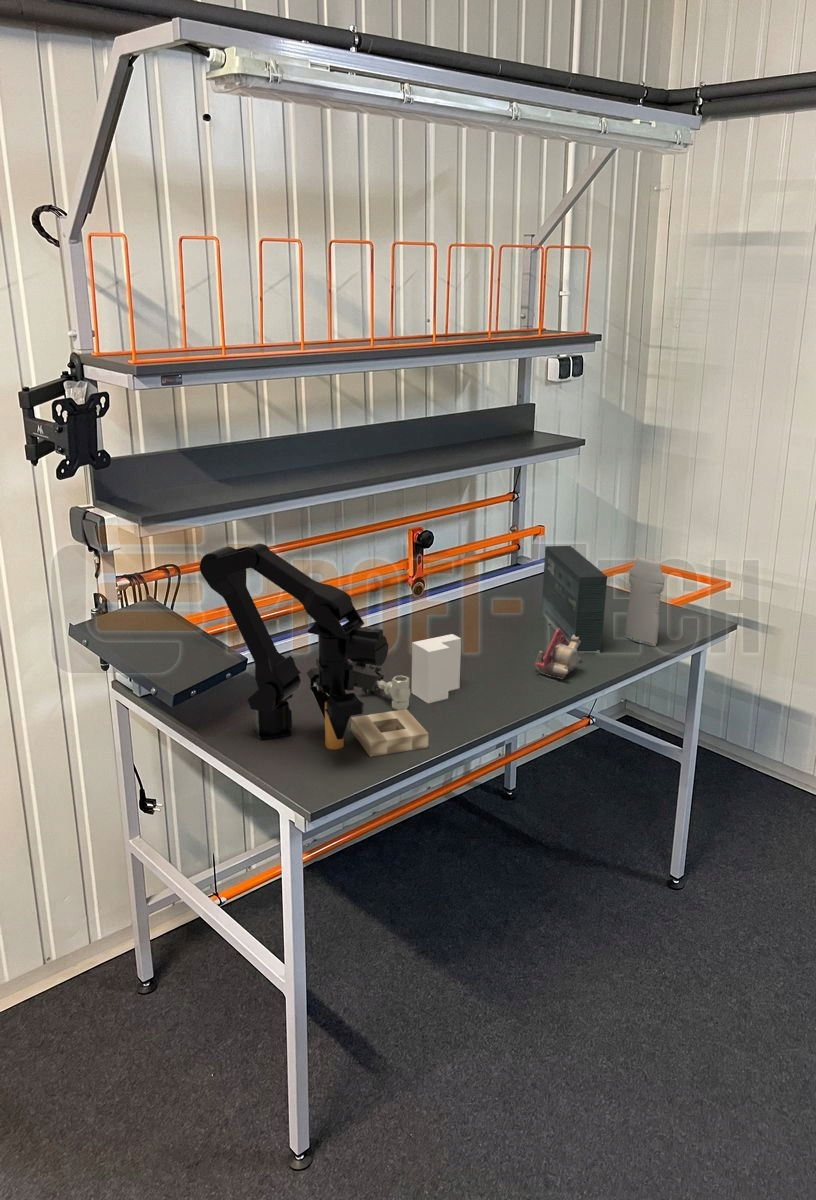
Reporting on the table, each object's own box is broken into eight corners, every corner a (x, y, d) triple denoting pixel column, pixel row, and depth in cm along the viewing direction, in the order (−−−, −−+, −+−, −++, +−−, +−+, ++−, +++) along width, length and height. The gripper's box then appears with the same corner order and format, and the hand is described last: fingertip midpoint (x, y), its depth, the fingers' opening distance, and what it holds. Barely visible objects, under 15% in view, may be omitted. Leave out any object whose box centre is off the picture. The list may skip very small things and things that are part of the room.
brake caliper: (543, 649, 233) (572, 619, 226) (573, 684, 230) (603, 654, 223) (518, 663, 225) (548, 631, 218) (549, 699, 222) (580, 668, 215)
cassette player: (600, 653, 238) (607, 576, 232) (573, 654, 237) (579, 577, 231) (565, 615, 266) (570, 545, 260) (541, 616, 265) (545, 546, 259)
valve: (418, 705, 207) (381, 689, 216) (418, 677, 205) (381, 661, 214) (395, 714, 203) (358, 697, 211) (396, 685, 201) (358, 669, 209)
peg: (328, 750, 186) (327, 708, 184) (323, 742, 190) (322, 700, 187) (346, 747, 188) (345, 705, 185) (340, 740, 191) (340, 698, 188)
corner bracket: (427, 703, 208) (429, 651, 205) (400, 685, 217) (401, 635, 214) (467, 693, 214) (469, 643, 210) (439, 676, 223) (440, 627, 219)
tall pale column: (619, 637, 249) (626, 555, 243) (629, 634, 252) (636, 553, 245) (652, 649, 242) (660, 564, 235) (662, 645, 244) (671, 562, 237)
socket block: (370, 756, 184) (370, 742, 183) (351, 730, 195) (350, 717, 194) (428, 747, 188) (428, 733, 187) (406, 722, 199) (406, 709, 198)
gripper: (390, 669, 177) (389, 745, 182) (358, 635, 194) (358, 706, 199) (332, 676, 174) (333, 754, 178) (304, 642, 190) (306, 714, 195)
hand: (334, 731), depth 188 cm, fingers open, 7 cm apart
